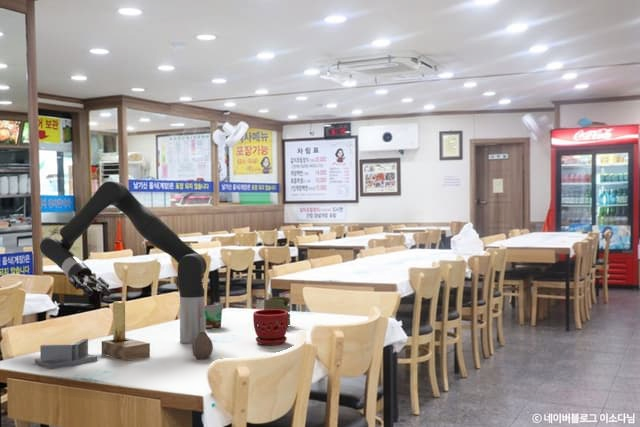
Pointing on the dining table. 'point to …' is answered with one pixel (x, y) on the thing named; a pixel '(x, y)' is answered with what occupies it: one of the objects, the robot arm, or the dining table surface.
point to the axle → (119, 321)
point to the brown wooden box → (126, 349)
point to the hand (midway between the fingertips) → (100, 294)
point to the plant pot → (270, 326)
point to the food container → (213, 315)
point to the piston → (278, 304)
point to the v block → (64, 355)
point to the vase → (202, 346)
